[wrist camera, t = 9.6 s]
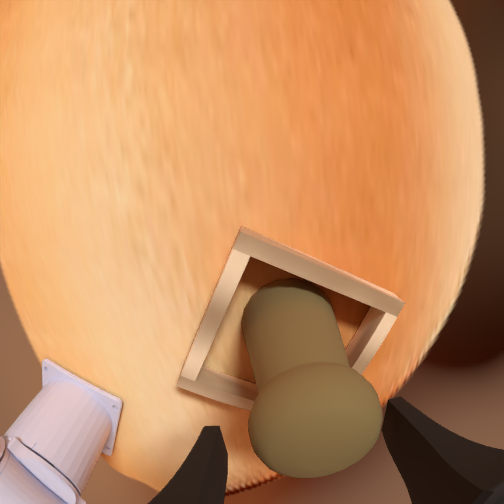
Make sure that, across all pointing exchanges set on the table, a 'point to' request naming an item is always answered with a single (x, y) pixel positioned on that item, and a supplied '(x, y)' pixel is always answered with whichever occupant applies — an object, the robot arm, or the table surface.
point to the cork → (305, 384)
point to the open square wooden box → (304, 266)
